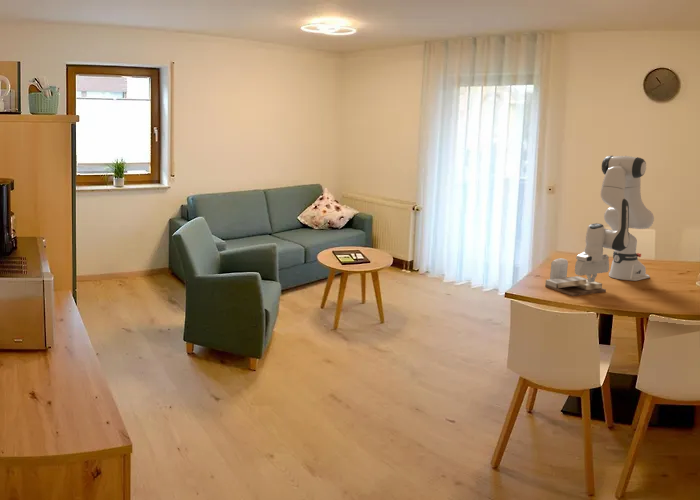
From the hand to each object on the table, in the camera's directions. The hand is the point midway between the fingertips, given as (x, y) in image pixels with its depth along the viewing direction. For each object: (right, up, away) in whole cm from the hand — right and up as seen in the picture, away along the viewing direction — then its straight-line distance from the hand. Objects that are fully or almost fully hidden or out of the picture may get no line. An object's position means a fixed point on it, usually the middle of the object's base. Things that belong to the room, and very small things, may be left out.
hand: (591, 282), depth 354 cm
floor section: (-7, -4, +3) cm, 9 cm away
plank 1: (-11, -2, -3) cm, 11 cm away
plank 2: (-1, -3, +2) cm, 4 cm away
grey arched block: (-11, 0, +19) cm, 22 cm away
